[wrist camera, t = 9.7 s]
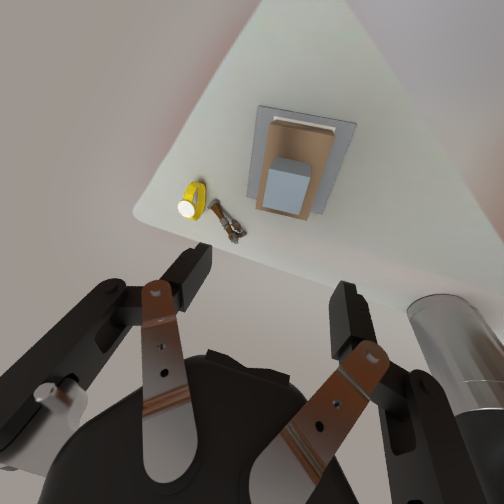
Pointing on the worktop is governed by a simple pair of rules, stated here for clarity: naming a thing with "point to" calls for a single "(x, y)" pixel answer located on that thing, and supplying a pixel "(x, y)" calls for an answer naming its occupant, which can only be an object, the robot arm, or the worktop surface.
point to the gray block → (287, 185)
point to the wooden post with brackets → (227, 223)
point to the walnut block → (296, 157)
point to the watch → (188, 206)
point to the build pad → (340, 128)
